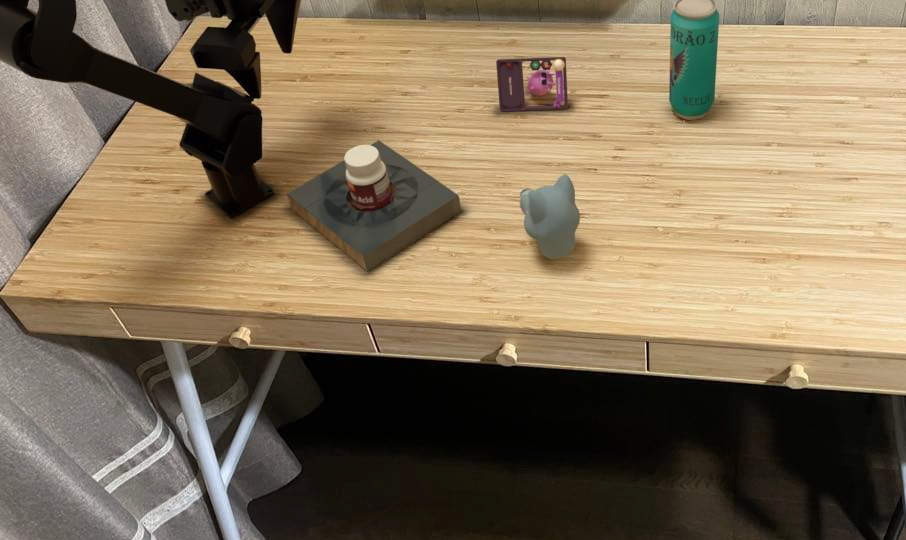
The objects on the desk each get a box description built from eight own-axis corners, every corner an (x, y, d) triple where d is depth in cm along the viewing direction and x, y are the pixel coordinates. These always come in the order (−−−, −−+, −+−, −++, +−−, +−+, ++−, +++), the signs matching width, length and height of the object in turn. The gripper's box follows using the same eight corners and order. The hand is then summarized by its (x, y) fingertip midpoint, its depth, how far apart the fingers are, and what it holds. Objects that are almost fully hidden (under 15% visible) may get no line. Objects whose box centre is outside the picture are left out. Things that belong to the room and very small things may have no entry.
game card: (495, 61, 130) (565, 58, 129) (499, 52, 134) (567, 49, 133) (499, 112, 133) (567, 110, 132) (503, 101, 137) (569, 99, 136)
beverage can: (662, 102, 132) (663, -2, 121) (702, 92, 133) (707, -13, 122) (679, 127, 128) (682, 22, 117) (721, 116, 129) (728, 10, 118)
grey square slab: (461, 211, 121) (458, 195, 119) (367, 272, 115) (363, 256, 113) (382, 155, 129) (378, 139, 127) (291, 209, 123) (285, 193, 122)
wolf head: (549, 214, 119) (542, 145, 112) (592, 254, 114) (588, 186, 106) (505, 236, 117) (495, 168, 110) (546, 278, 112) (539, 210, 104)
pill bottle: (348, 216, 122) (332, 161, 115) (372, 193, 124) (357, 138, 118) (380, 228, 120) (364, 172, 114) (403, 204, 122) (389, 148, 116)
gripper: (202, -89, 118) (245, 27, 130) (123, -2, 106) (178, 118, 118) (289, -87, 115) (324, 32, 127) (217, 3, 104) (263, 125, 116)
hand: (272, 74), depth 122 cm, fingers open, 9 cm apart
